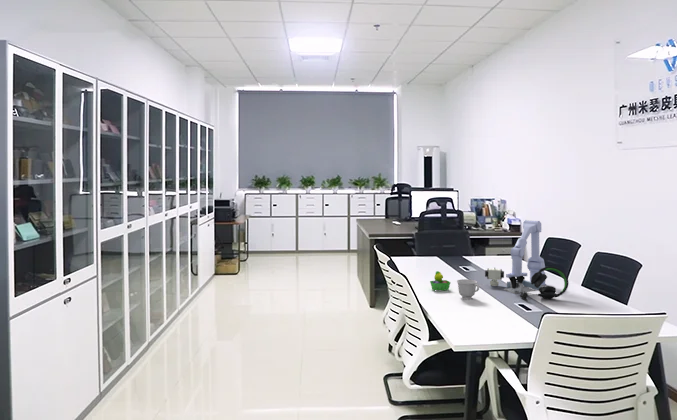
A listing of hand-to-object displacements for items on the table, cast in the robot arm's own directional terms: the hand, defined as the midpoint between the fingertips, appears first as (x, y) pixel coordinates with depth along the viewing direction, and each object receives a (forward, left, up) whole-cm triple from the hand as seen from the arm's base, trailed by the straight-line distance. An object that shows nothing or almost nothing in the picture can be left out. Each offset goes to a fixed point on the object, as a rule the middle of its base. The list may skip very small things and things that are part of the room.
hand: (516, 288), depth 302 cm
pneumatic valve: (+3, -18, -2) cm, 18 cm away
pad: (-8, -3, -2) cm, 8 cm away
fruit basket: (+42, -21, -2) cm, 47 cm away
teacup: (+38, +5, -2) cm, 38 cm away
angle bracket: (+2, 0, -2) cm, 3 cm away
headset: (-3, +21, -2) cm, 21 cm away
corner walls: (-9, -4, -2) cm, 10 cm away
